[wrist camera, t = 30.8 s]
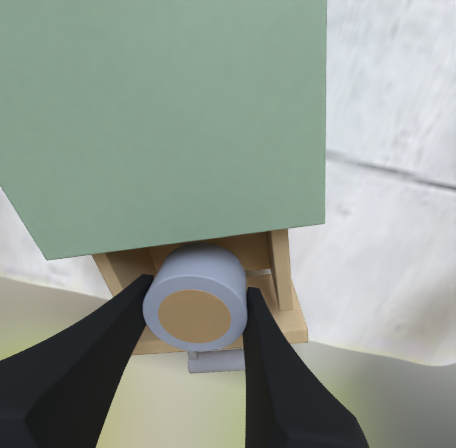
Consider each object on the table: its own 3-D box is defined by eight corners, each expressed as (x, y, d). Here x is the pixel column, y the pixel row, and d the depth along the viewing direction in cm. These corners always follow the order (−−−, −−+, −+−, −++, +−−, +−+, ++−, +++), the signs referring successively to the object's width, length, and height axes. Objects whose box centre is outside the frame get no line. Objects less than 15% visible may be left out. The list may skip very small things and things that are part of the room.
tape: (162, 304, 15) (144, 347, 12) (160, 236, 12) (138, 269, 10) (239, 313, 15) (240, 358, 12) (252, 247, 12) (255, 283, 10)
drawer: (293, 324, 20) (310, 389, 15) (172, 334, 21) (152, 396, 16) (277, 114, 13) (300, 110, 8) (97, 148, 14) (23, 164, 9)
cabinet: (289, 180, 15) (325, 224, 9) (120, 206, 17) (46, 261, 10) (271, -124, 10) (332, -608, 3) (19, -44, 11) (-281, -265, 5)
